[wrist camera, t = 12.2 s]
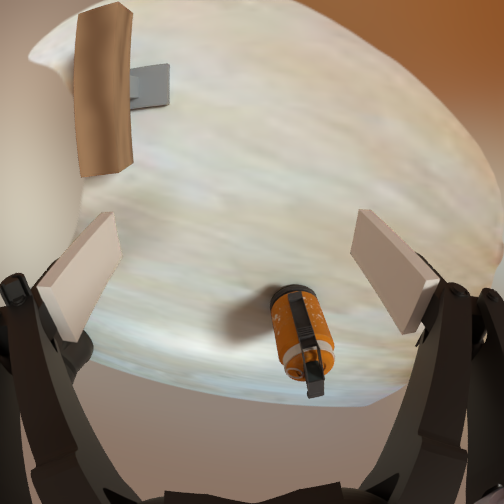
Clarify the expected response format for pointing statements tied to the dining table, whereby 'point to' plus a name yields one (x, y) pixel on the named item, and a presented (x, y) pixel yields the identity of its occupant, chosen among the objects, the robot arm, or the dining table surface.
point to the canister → (302, 337)
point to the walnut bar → (103, 90)
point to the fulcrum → (149, 86)
